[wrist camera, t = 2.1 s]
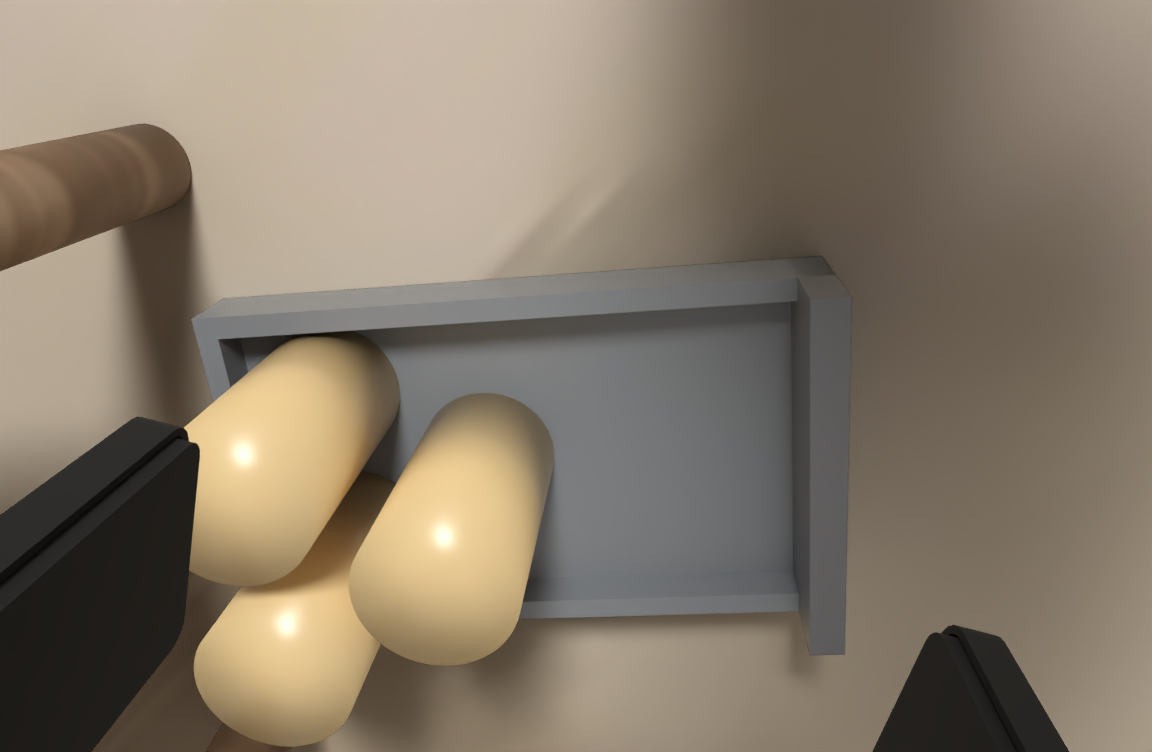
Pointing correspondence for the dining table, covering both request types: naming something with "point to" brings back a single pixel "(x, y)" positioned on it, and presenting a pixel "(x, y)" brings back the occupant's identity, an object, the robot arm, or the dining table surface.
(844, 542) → the tray
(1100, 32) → the dining table surface
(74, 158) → the low table
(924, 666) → the robot arm
